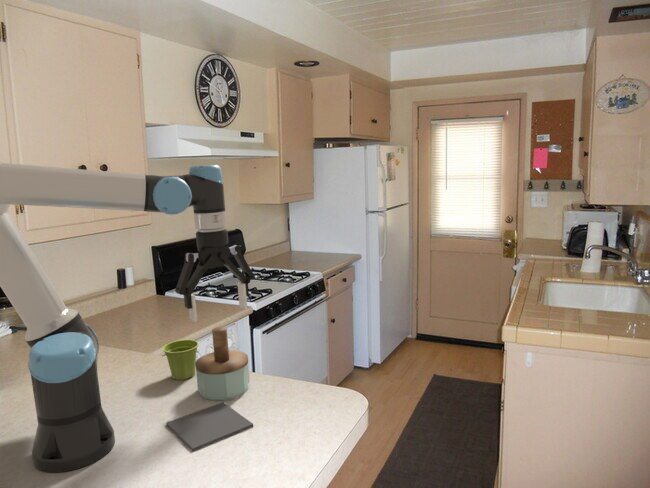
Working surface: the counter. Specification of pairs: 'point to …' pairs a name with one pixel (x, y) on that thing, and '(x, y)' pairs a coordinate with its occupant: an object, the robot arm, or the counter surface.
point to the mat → (208, 425)
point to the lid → (221, 356)
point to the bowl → (223, 384)
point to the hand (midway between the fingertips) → (219, 314)
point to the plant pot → (181, 358)
